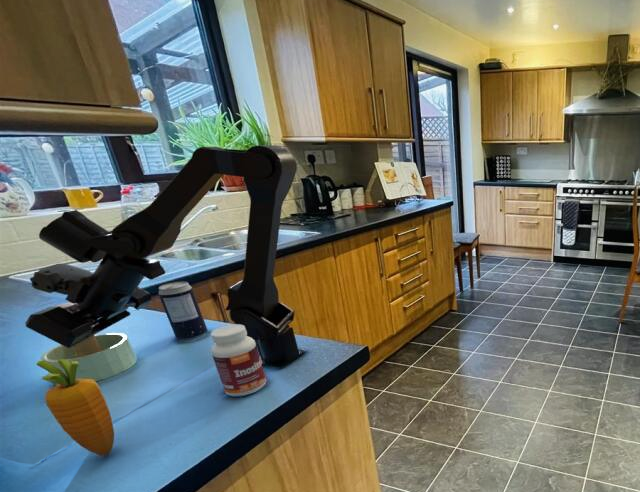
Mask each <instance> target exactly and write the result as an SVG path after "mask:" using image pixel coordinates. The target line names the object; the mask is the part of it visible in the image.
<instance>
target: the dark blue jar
mask: <svg viewBox="0 0 640 492" xmlns="http://www.w3.org/2000/svg"><path fill="white" fill-rule="evenodd" d="M158 296H159V299H160V302H161V304H162V307H163V308H164V313H165V314H166V316H167V317H166V318H168V322H169V324H170V327H171V330H172V332H173V335H174V337H175V338H176V339H178V340H180V341H181V340H183V341H185V340H192V339H196V338H200V337H201V336H203V335H205V334H206V333H207V332H208V327H207V324H206V322H205V319H204V316H203V313H202V310H201V308H200V305H199V303H198V300H197V296H196V294H195V292H194V288H193V287H192V286H191V285H190V284H189V282H187V281H174V282H169V283H165V284H162V285H160V286H159V287H158Z"/></svg>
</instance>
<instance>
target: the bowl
mask: <svg viewBox="0 0 640 492" xmlns="http://www.w3.org/2000/svg"><path fill="white" fill-rule="evenodd" d="M94 336H95V338H96V340H97V342H98V344H99V346H100V348H101V350H103V351H101V352H97V353H94V354H91V355H87V356H83V357H79V358H75V357H77V355H76V353H75V351H74V349H73V348H72V347H70V348H67V347H65V346H63V345H61V344H59V345H57V346H54V347H52V348H50V349H49V350H47V351H46V352H44V353H43V354H42V355H41V356H40V361H41V360H45V361H47V362H49V363H51V364H52V365H54V366H55V367H57V368H58V369H60V370H61V371H62V372H63V373H64V374H65V375H66V376H67V374H66V372H65V370H64V369H63V368H62V367H61V365H60V364H59V363H58V361H59V360H61V359H63V360H67V361H68V362H69V363H71V362H72V361H77V362H78V367H77V371H76V379H93V380H94V381H96V382H100V381H103V380H106V379H108V378H111V377H114V376H117V375H119V374H120V373H123V372H125V371H127V370H128V369H130V368H132V367H133V366H134V365H135V364H136V363H137V362H138V356H137V354H136V352H135V350H134V348H133V346H132V342H130V339H129V337H128V335H127V334H125V333H119V332H111V333H110V332H109V333H108V332H107V333H100V334H95V335H94ZM47 372H48V371H47ZM48 374H52V373H50V372H48ZM54 384H55V386H57V385H59V384H57V383H54Z"/></svg>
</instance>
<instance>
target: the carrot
mask: <svg viewBox="0 0 640 492" xmlns="http://www.w3.org/2000/svg"><path fill="white" fill-rule="evenodd" d="M58 363H59V364H60V365H61V367H62V368H63V369H64V370H65V372H66V374H67V376H66V375H65V374H64V373H63V372H62V371H61V370H60V369H58V368H57V367H55V366H54V365H52V364H51V363H49V362H47V361H45V360H41V359H40V360H38V361H37V362H36V366H38V367H39V368H41V369H43V370H45V371H47V372H50V373H52V374H49V373H48V374H46V375H44V376H42V377H41V380H44V381H47V382H50V383H54V384H55V383H57V384H59V385H55V386H53V387H52V388H50V389H48V390H47V391H46V392H45V393H44V394H45V404H46V406H47V408H48V409H49V411H50V413H51V414H52V416H53V417H54V418H55V420H56V421H57V423H58V424H59V426H60V427H61V428H62V430H63V431H64V432H65V433H66V434H67V436H69V437H70V438H71V439H72V440H73V441H74V442H75V443H77V444H78V445H79V446H80V447H82V448H83V449H84V450H87V451H88V452H90V453H93V454H95V455H98V456H100V457H107V456H109V455H110V454H111V453H112V451H113V446H114V441H115V430H114V425H113V420H112V416H111V412H110V410H109V406H108V404H107V402H106V399H105V397H104V395H103V393H102V390H101V388H100V387H99V384H98V383H97V381H94V380H93V379H76V371H77V367H78V362H77V361H72V362H71V363H69V362H68V361H67V360H63V359H61V360H59V361H58Z"/></svg>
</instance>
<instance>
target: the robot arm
mask: <svg viewBox="0 0 640 492" xmlns="http://www.w3.org/2000/svg"><path fill="white" fill-rule="evenodd" d="M297 169H298V165H297V160H296V159H295V158H294V156H293V154H291V152H290V151H289V150H287V148H284V147H282V146H280V145H276V144H275V145H273V144H272V145H270V144H269V145H268V144H267V145H266V144H265V145H253V146H251V147H249V148H247V149H234V148H233V149H231V148H222V147H219V146H201V147H197V148H196V149H195V150H194V151H193V152H192V155H191V157H190V159H188V161H187V162H186V163H185V164H184V165H183V166H182V167H181V169H180V170H179V171H178V172H177V174H176V175H174V177H173V178H172V179H171V180H170V182H168V184H167V185H166V186H165V187H164V188H163V189H162V190H161V192H160V193H159V194H158V195H157V197H155V198H154V200H152V202H151V203H150V204H149V205H148V206H147V207H145V208H143V209H141V210H140V211H138V212H136V213H134V214H133V215H131V216H129V217H127V218H126V219H124V220H123V221H122V222H120V223H119V224H117V225H116V226H115V227H114V228H112V230H107V229H105V228H104V227H102V226H101V225H99V224H98V223H96V222H94V221H93V220H91V219H90V218H88V217H87V216H86V215H85V214H83V213H82V212H80V211H79V210H77V209H72V210H66V211H63V213H62V215H60V216H59V217H57V218H55V219H53V220H52V221H50V222H49V223H48V224H47V225H46V226H43V227H42V228H41V230H40V231H39V234H38V238H39V239H40V240H41V241H43V242H44V243H46V244H47V245H49V246H51V247H52V248H54V249H56V250H57V251H60V252H61V253H63V254H65V255H67V256H68V257H70V258H72V259H73V260H75V261H77V262H78V263H80V264H86V263H87V262H91V263H97V262H98V263H99V264H98V266H97V267H96V269H95V271H94V272H91V271H90V270H87V269H84V268H81V267H78V266H74V265H71V264H68V263H55V264H52V265H49V266H46V267H45V266H44V267H41V268H39V269H38V271H35V272H34V273H33V276H32V277H30V278H29V281H30V282H31V287H32V288H33V289H34V290H37V291H41V292H44V293H49V294H52V293H57V294H61V295H65V296H66V297H65V299H64V300H65V301H67V302H71V303H73V304H74V303H77V304H78V305H77V306H75V307H73V308H70V309H68V311H67V310H65V309H64V308H62V307H60V306H56V305H54V306H55V307H53V306H49V307H47V308H44V309H42V310H39V311H36V312H33V313H32V314H29V316H28V318H27V320H26V321H25V322H24V323H25V327H26V328H27V329H29V330H31V331H33V332H35V333H36V334H39V335H41V336H43V337H46V338H47V339H49V340H51V341H53V342H55V343H57V344H59V345H63V346H65V347H67V348H70V347H72V346H74V345H76V344H78V343H79V342H81V341H83V340H85V339H87V338H88V337H90V336H92V335H97V334H99V333H100V332H103V331H104V330H106V329H107V328H109V327H111V326H113V325H115V324H117V323H119V322H121V321H122V320H124V319H126V318H128V317H130V316H131V312H130V311H129V310H128V309H129V308H130V306H131V305H129V304H128V301H130V302H132V303H134V306H133V308H134V310H136V311H140V310H142V309H143V308H146V307H148V305H149V303H151V301H152V297H151V294H150V292H148V291H147V290H145V289H143V288H141V287H140V284H141V282H142V281H143V280H144V278H146V279H148V280H151V281H152V280H154V279H156V278H158V277H162V276H164V275H165V274H166V270H165V269H164V267H163V266H162V265H161V261H160V260H158V259H157V260H154V259H153V260H152V259H150V258H149V257H152V256H154V255H157V254H160V253H162V252H165V251H168V250H170V249H171V248H172V247H173V246H174V244H175V243H176V241H177V239H178V237H179V235H180V234H181V229H182V224H183V222H184V220H185V218H186V217H187V216H188V215H189V214H190V213H191V211H193V210H194V208H195V207H196V206H197V205H198V204H199V203H200V202H201V201H202V199H204V198H205V196H206V195H207V194H208V193H209V192H210V191H211V189H212V188H213V187H214V186H215V185H216V184H217V183H218V181H219V180H220V179H221V178H222V177H223V176H231V177H242V178H243V183H244V186H245V189H246V191H247V194H248V197H249V213H248V226H247V236H246V247H245V257H244V267H243V268H244V269H243V278H242V280H240V281H238V282H236V284H234V285H232V286H230V287H229V288H228V289H227V300H228V301H227V306H226V308H225V311H226V312H227V311H229V318H230V321H231V322H233V323H234V324H241V325H244V326H245V328H246V331H247V336H248V337H251V338H252V339H253V340H254V341H255V344H256V347H257V350H258V353H259V357H260V360H261V363H262V366H267V367H272V368H279V369H281V368H284V367H286V366H288V365H289V364H290V363H292V362H293V361H295V360H297V359H298V358H299V357H301V356H302V355H304V354H305V353H306V349H303V348H302V349H301V348H299V347H298V342H297V340H296V336H295V332H294V328H293V327H291V326H290V324H291V322H294V319H295V314H296V313H295V310H294V309H292V308H291V307H289V306H288V305H286V304H284V303H283V302H282V301H281V300H280V299H279V290H278V287H277V284H276V283H275V279H274V275H275V267H276V259H277V251H278V242H279V233H280V226H281V225H280V224H281V218H282V217H281V216H282V208H283V204H284V202H285V200H286V198H287V196H288V194H289V192H290V190H291V188H292V186H293V182H294V180H295V177H296V174H297Z"/></svg>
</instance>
